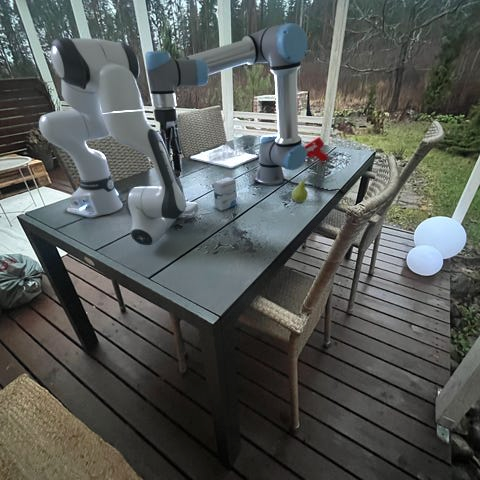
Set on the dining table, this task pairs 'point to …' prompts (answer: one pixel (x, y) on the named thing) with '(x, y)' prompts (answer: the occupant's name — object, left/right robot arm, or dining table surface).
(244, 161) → the relief map
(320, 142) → the toy gun
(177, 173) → the cap
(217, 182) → the ink box
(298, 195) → the fruit
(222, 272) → the dining table surface
